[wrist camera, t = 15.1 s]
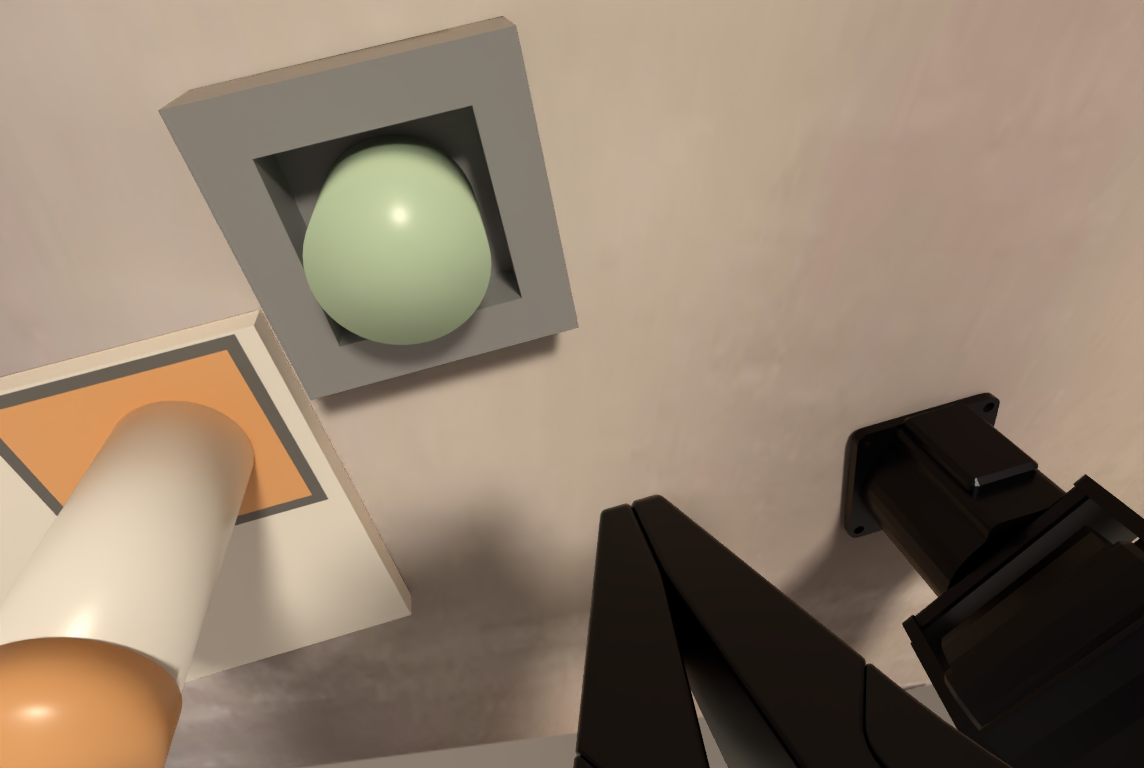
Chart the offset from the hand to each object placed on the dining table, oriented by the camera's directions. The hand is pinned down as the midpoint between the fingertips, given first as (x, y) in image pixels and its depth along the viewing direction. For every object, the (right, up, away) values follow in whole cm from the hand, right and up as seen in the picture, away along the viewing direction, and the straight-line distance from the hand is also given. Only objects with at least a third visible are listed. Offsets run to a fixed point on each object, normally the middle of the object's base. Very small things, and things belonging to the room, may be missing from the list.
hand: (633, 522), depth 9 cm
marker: (-13, 0, +11) cm, 17 cm away
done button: (-6, +7, +9) cm, 13 cm away
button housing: (-6, +7, +10) cm, 13 cm away
